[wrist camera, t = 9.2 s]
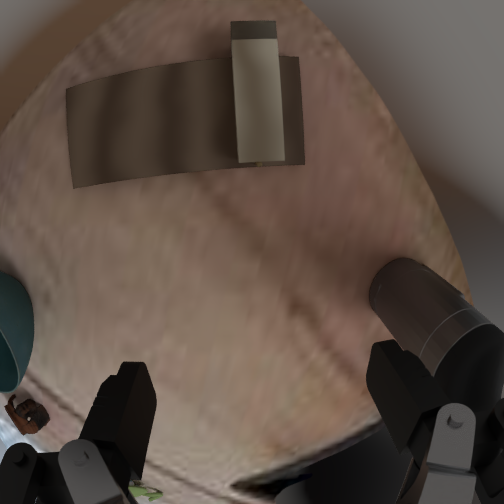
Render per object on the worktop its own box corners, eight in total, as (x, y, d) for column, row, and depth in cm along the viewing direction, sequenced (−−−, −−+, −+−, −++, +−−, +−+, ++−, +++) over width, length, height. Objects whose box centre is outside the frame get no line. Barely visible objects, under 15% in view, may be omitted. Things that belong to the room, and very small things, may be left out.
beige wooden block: (267, 41, 27) (275, 20, 21) (275, 163, 32) (285, 168, 26) (230, 43, 27) (230, 21, 21) (238, 165, 32) (239, 170, 26)
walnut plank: (294, 61, 29) (298, 56, 27) (300, 163, 33) (304, 164, 31) (73, 90, 28) (66, 88, 26) (80, 186, 32) (73, 188, 30)
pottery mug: (53, 426, 48) (28, 443, 41) (29, 394, 50) (4, 409, 43) (50, 411, 42) (20, 431, 35) (24, 373, 44) (-6, 390, 37)
